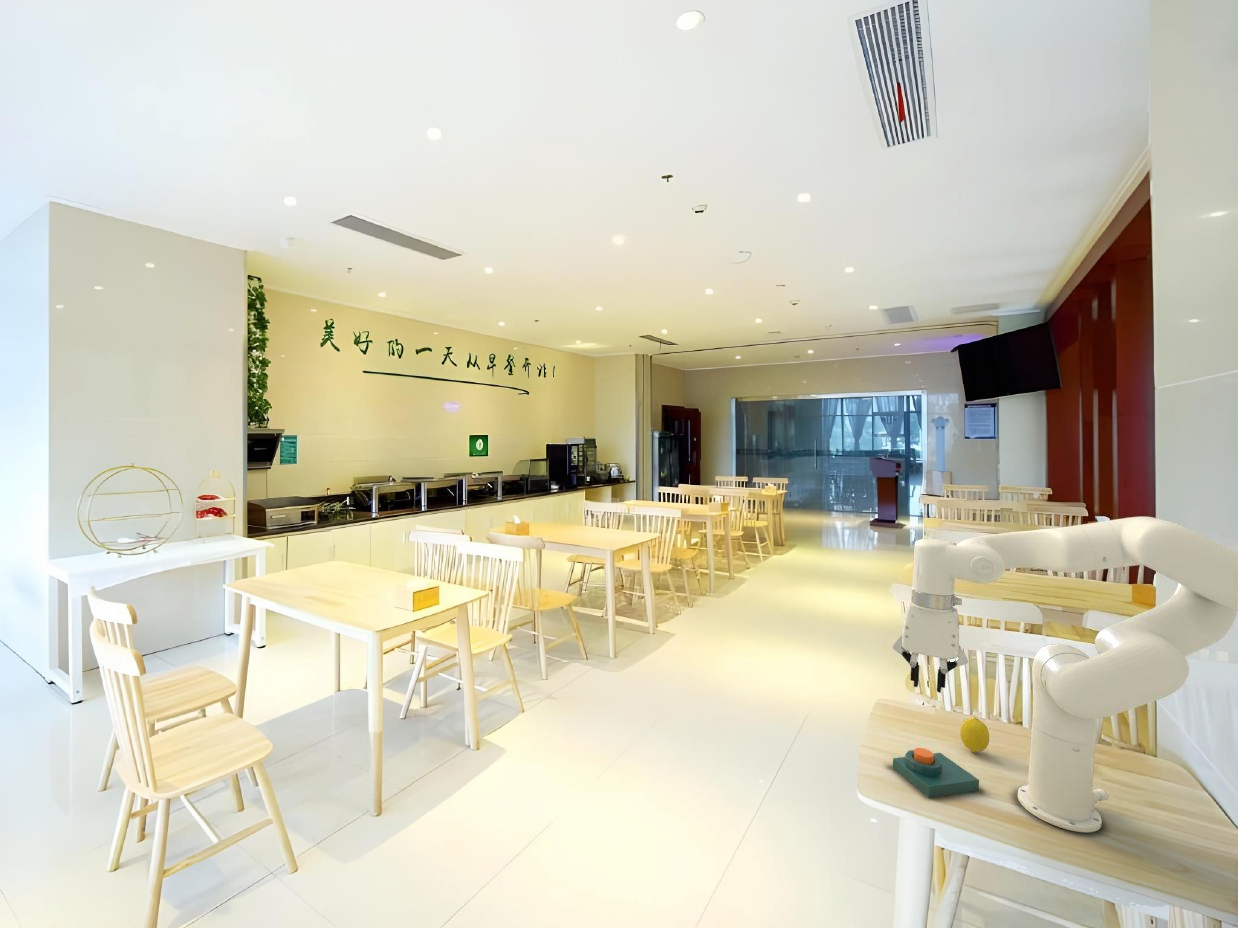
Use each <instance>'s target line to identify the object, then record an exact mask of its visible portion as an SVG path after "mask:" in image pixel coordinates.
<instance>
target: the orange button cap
mask: <svg viewBox="0 0 1238 928" xmlns="http://www.w3.org/2000/svg"><path fill="white" fill-rule="evenodd" d="M913 750H914V759H915V760H916V761H918V762H920V763H923V764H928V765H930V764H933V761H934V753H933V751H931V750H929V749H927V748H925V747H915V748H914V749H913Z"/></svg>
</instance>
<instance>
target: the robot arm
mask: <svg viewBox="0 0 1238 928" xmlns="http://www.w3.org/2000/svg"><path fill="white" fill-rule="evenodd" d="M1134 566H1144V567H1147V568H1149V569H1151V570H1153V571H1155V572H1156V573H1158V574H1160V575H1161V576H1164V577H1166V578H1168V579H1170V580H1171V581H1174V582H1176V583H1177V584H1178V585H1177V588H1176V590H1175V591H1174V593H1173V595H1172V596H1171V597H1170V598H1169V599H1167V600H1166V601H1164V602H1163V603H1160V604H1158V605H1156V606H1153V608H1151V609H1148V610H1146V611H1143V612H1141V613H1138V614H1135V615H1133V616H1131V617H1128V618H1126V619H1123V620H1121V621H1118V622H1115V623H1113V624H1109V625H1108V626H1106V627H1105V628H1103V629H1101V630H1100V631H1099V632H1098V633H1097V635H1096V637H1095V639H1094V647H1095V650H1096V653H1097V654H1096V655H1093V656H1091V657H1090V656H1089V655H1088V654H1086V652H1084V651H1082V650H1081V649H1079V648H1077V647H1075V646H1072V645H1069V644H1065V643H1052V644H1048V645H1046V646H1044V647H1041V648H1040V649H1039V651H1038V652H1036V654H1035V656H1034V658H1033V661H1032V666H1031V667H1032V668H1031V679H1032V721H1031V731H1030V732H1031V734H1030V749H1029V765H1028V779H1027V780H1028V781H1027V784H1025V785H1022V786H1020V787H1019V788H1018V790H1017V800H1018V802H1019V803H1020V804H1021V806H1022V807H1023V808H1024V809H1025V810H1026V811H1027V812H1029V813H1030V814H1032V815H1033V816H1035V817H1036V818H1038V819H1039V820H1042V821H1044V822H1045V823H1048V824H1050V825H1052V826H1055V827H1058V828H1061V829H1064V830H1068V831H1070V832H1071V831H1072V832H1077V833H1095V832H1097V831H1099V830H1100V829H1101V828H1102V824H1103V823H1102V821H1103V819H1102V816H1101V814H1100V813H1099V811H1097V810H1096V808H1095V804H1097V803H1098V802H1103V801H1104V802H1105V801H1108V800H1109V793H1108V792H1107V791H1106V790H1105V789H1103V788H1095V789H1094V788H1093V786H1094V774H1095V773H1094V772H1095V758H1096V744H1097V734H1098V732H1097V731H1098V720H1100V719H1106V718H1109V717H1112V716H1113V717H1114V716H1117V715H1119V714H1122V713H1124V712H1128V711H1130V710H1133V709H1136V708H1138V707H1141V706H1144V705H1147V704H1150V703H1153V702H1156V701H1158V700H1161V699H1163V698H1166V697H1168V696H1171V695H1172V694H1174V693H1176V692H1177V691H1179V690H1180V689H1181V687H1183V686H1184V685H1185V683H1186V681H1187V680H1188V677H1189V674H1190V667H1189V662H1188V660H1187V658H1186V657H1188V656H1190V655H1192V654H1194V653H1195V654H1196V653H1197V652H1199V651H1202V650H1205V649H1206V648H1209V647H1210V646H1212V645H1214V644H1216V643H1217V642H1219V641H1220V640H1222V639H1223V638H1224V637H1226V635H1227V634H1228V633H1229V631H1230V630H1231V628H1232V627H1233V625H1234V622H1235V620H1236V617H1237V614H1238V551H1237V550H1234V549H1232V548H1230V547H1227V546H1226V545H1223V544H1221V543H1219V542H1217V541H1215V540H1212V539H1210V538H1208V537H1206V536H1204V535H1202V534H1200V533H1198V532H1196V531H1194V530H1192V529H1190V528H1187V527H1185V526H1183V525H1180V524H1179V523H1175V522H1174V521H1173V522H1172V521H1169V520H1165V519H1162V518H1156V517H1153V516H1132V517H1124V518H1116V519H1110V520H1103V521H1097V522H1089V523H1083V524H1077V525H1068V526H1061V527H1053V528H1041V529H1033V530H1022V531H1021V530H1020V531H1010V532H1009V531H1008V532H1002V533H995V534H994V533H993V534H986V535H981V536H976V537H970V538H966V539H964V540H961V541H960V542H959V543H957V544H954V543H953V542H951V541H948V540H944V539H938V538H920V539H917V540H916V541H915V543H914V547H913V565H912V581H911V582H912V584H911V600H909V601H907V603H906V607H905V611H904V617H903V623H902V633H901V635H900V636H899V637H898V638H897V639H896V641H895V642H894V644H892V649H893V650H894V651H895V652H897V653H898V654H899V655H901V656H902V658H904V660H905V661H906V662H907V663H908V664H909V667H910V681H912V682H913V688H918V687H919V681H920V664H919V661H918V658H919V655H923V656H928V657H933V658H937V659H939V660H938V661H939V667H938V669H937V679H936V692H937V693H939V694H941V693H942V688H943V689H946V682H947V681H946V680H947V679H946V678H947V674H948V673H950V671H952V670H954V669H955V668H957V667H961V666H964V665H968V663H969V659H968V657H967V655H966V654H965V652H964V650H963V649H962V647H961V645H960V619H959V611H958V609H957V608H956V607H955V606H963V605H962V604H963V602H962V601H963V598H960V597H957V596H956V595H955V584H956V583H955V581H956V580H957V579H958V580H962V581H966V582H969V583H973V584H980V585H988V584H992V583H995V582H996V581H998V580H1000V578H1001V577H1002V576H1003V574H1004V573H1005V570H1011V569H1013V570H1014V569H1039V570H1045V571H1050V572H1057V573H1066V574H1067V573H1068V574H1070V573H1071V574H1073V573H1074V574H1075V573H1083V572H1089V571H1090V572H1091V571H1098V570H1107V569H1114V568H1115V569H1117V568H1124V567H1125V568H1127V567H1134Z"/></svg>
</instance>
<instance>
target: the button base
mask: <svg viewBox="0 0 1238 928" xmlns="http://www.w3.org/2000/svg"><path fill="white" fill-rule="evenodd" d="M933 754H934V761H933V764H930V765H928V764H923V763H920V762H918V761H916V760H915V759H914V749H910V750H907V752H905V755H904V756H901V757H893V759H892V769H893V770H894V771H896V772H897V773H898V774H899V775H900V776H901V777H903V779H905V780H906V781H908V782H909V783H910V784H911V785H913V786H914V787H915V788H916V789H918V791H920V792H921V794H923V795H925V796H926V797H927V798H935V797H943V796H949V795H956V794H957V795H958V794H963V793H972V792H978V791H980V780H979V779H978V778H977V777H976V776H974V775H973V774H971V773H970V772H969V771H967V770H966V769H964V767H961V766H960V765H958V764H957V763H956V762H954V761H953V760H952V759H950V758H949V757H947V756H945V755H944V754H943V753H941V752H935V753H933Z"/></svg>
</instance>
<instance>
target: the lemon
mask: <svg viewBox="0 0 1238 928" xmlns="http://www.w3.org/2000/svg"><path fill="white" fill-rule="evenodd" d="M959 730H960V731H959V737H960V740H961V742H962V743H963V745H964V746H965V747H966V748H967V749H969V750H970V751H971V753H974V754H976V753H978V752H983V751H985V750H986V749H987V748H988V746H989V743H990V733H989V729H988V727H987V726H986V724H985V723H984V722H983V721H982V720H980V719H979V718H978V717H970V718H967V719H965V720H964V721H963V722H962V724H961V726H960V729H959Z"/></svg>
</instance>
